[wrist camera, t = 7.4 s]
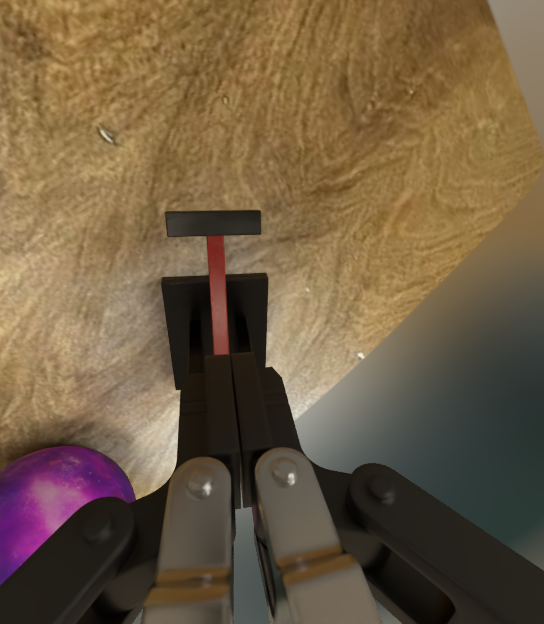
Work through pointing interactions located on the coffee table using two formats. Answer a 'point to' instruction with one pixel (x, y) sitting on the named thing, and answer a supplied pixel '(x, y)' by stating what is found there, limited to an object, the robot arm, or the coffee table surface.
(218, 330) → the red lever
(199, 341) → the lever stand
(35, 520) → the decorative orb
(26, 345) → the coffee table surface
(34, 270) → the coffee table surface
